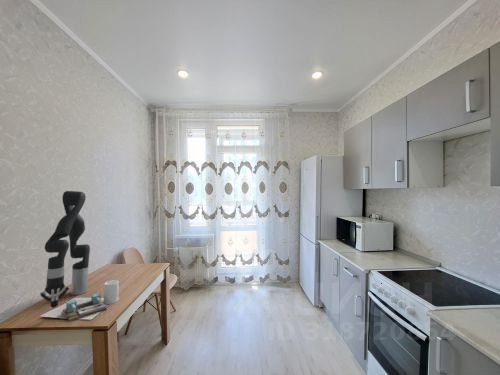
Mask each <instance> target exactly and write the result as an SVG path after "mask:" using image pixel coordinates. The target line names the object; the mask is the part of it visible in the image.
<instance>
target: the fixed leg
mask: <svg viewBox="0 0 500 375" xmlns="http://www.w3.org/2000/svg"><path fill="white" fill-rule="evenodd" d="M90 298H91V299H90V301H93V305H96V304H99V305H101V303H102V294H100V292H98V293H95V294H91V297H90Z"/></svg>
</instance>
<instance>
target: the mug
mask: <svg viewBox="0 0 500 375" xmlns="http://www.w3.org/2000/svg"><path fill="white" fill-rule="evenodd" d="M119 284H120V282H119V280H116V279H114V280H108V281H106V282H104V288H103V289H104V291H103V302H102V303H105V305H111V304H115V303H117V302H119V291H120V290H119V286H120V285H119Z"/></svg>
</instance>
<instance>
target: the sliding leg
mask: <svg viewBox="0 0 500 375" xmlns="http://www.w3.org/2000/svg"><path fill="white" fill-rule="evenodd" d="M77 303H78V301H77V299H71V300H67V301H66V304H65V306H66V307H65V309H66V311H67V308H68V313H69V312H72V311H73V313H75V311H76V310H77V305H78V304H77Z"/></svg>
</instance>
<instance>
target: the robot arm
mask: <svg viewBox="0 0 500 375" xmlns="http://www.w3.org/2000/svg"><path fill="white" fill-rule="evenodd" d="M86 199H87V198H86V193H85V192H84V191H76V190H75V191H73V190H65V191H64V192H63V194H62V203H63V208H64V212H65V215H63V217H62V218H60V219H59V221H58V222H57V225H56V228H55V231H54V232H53V233H52V235H51V236H50V237H49V238H48V239H47V241H46V242H45V245H44V251H45V252H46V253H50V254H51V253H52V254H53V253H57V255H55V256H51V257H49V258H48V259H47V260H48V262H47V270H46V287H45V288H44V290H43V291H42V292H40V293H39V295H40V297H41V298H43V299H44V300H45V301H47V302H50V307H51V308H52V309H53V308H57V307H58V305H59V304H58V303H59V299H62V298H63V297H64V296H65V295H66V293H67V292H68V291H69V290H70V288H69V286H66V285H65V259H66V255H67V253H68V250H69V253H70V254H69V255H70V257H71V259H82V260H80V261H78V262H75V263H73V264H72V267H71V268H72V272H71V290H70V293H71V295H73V296H75V295H76V296H77V295H83V294H85V293H87V292H88V286H89V265H90V264H89V263H90V261H89V260H90V251H91V248H90V247H91V246H90V244H85V243H84V244H78V243H77V242H78V240H79V239H80V237H81V236H82V235H83V234H84V233H85V230H86V226H85V220H84V219H83V217H82V216H81V215H80V212H81V210H82V208H83V207H84V204H85V201H86ZM67 237H69V238H68V239H69V240H67V239H65V238H67ZM47 294H48V295H49V296H50V297H49V296H48V295H47Z"/></svg>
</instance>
